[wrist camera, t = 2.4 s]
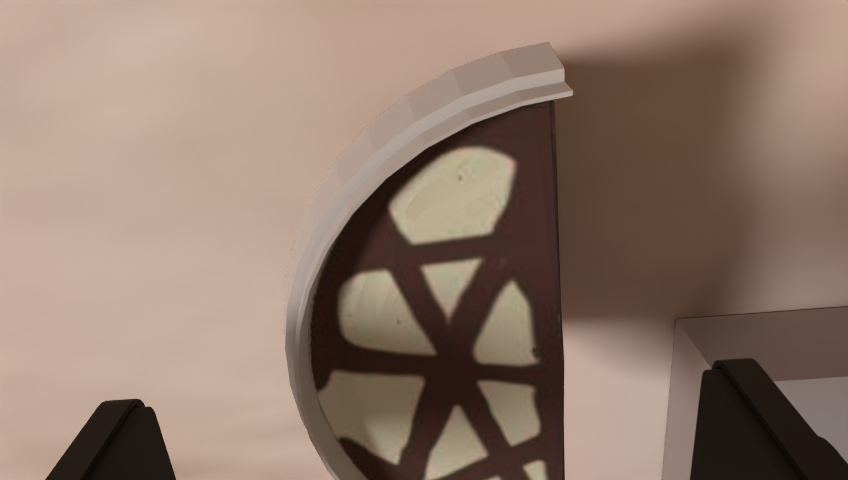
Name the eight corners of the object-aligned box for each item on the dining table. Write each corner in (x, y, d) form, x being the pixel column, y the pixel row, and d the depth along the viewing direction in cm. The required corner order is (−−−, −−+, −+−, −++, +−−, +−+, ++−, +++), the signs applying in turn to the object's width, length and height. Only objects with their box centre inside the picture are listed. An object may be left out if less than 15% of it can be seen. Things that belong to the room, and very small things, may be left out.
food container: (299, 34, 19) (191, 99, 10) (500, 11, 19) (572, 57, 10) (359, 369, 24) (322, 615, 15) (520, 354, 24) (581, 594, 15)
